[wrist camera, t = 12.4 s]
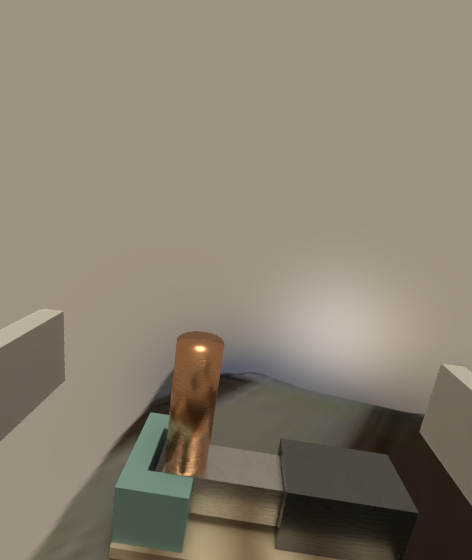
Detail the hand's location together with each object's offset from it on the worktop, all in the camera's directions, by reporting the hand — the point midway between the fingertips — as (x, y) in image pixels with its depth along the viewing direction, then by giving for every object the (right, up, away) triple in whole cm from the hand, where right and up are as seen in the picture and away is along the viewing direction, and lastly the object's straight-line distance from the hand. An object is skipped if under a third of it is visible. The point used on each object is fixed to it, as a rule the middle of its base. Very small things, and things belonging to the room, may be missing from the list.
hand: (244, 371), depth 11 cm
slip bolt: (-1, -18, +20) cm, 27 cm away
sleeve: (+9, -21, +20) cm, 30 cm away
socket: (-8, -18, +20) cm, 28 cm away
